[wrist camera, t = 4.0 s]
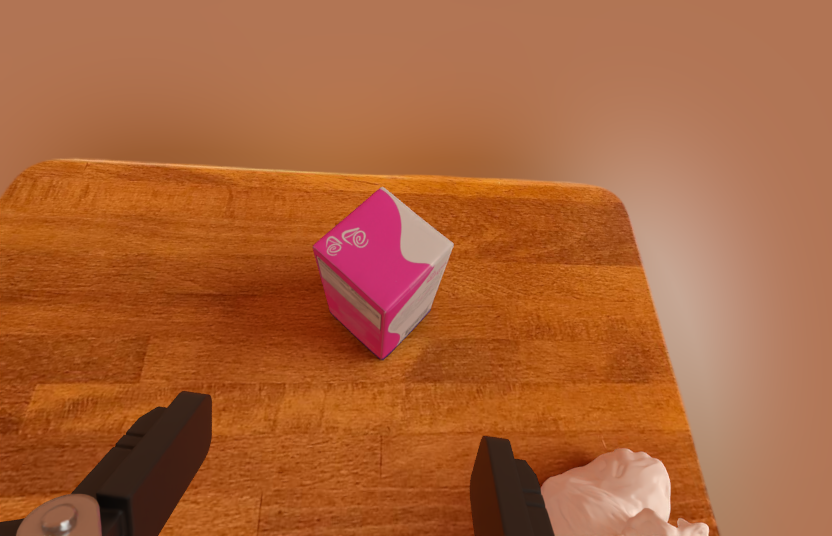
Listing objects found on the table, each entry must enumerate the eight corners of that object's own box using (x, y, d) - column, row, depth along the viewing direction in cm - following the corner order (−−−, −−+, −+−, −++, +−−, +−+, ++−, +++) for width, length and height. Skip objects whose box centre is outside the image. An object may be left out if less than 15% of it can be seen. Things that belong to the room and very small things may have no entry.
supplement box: (377, 262, 36) (384, 181, 26) (431, 310, 35) (461, 245, 24) (325, 311, 34) (309, 244, 23) (381, 363, 33) (390, 317, 22)
